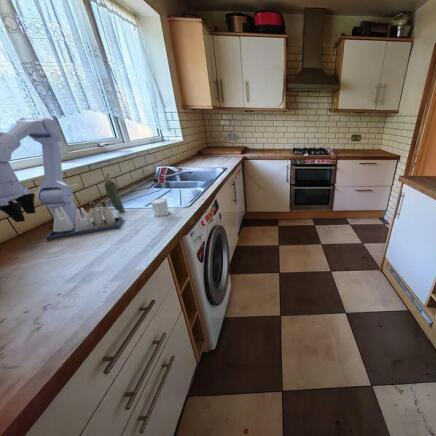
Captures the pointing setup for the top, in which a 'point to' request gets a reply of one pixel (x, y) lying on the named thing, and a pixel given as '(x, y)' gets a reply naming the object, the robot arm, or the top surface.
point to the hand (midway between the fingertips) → (26, 217)
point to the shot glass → (160, 207)
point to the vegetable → (113, 193)
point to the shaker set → (65, 224)
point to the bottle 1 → (97, 216)
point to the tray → (58, 235)
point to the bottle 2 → (108, 214)
